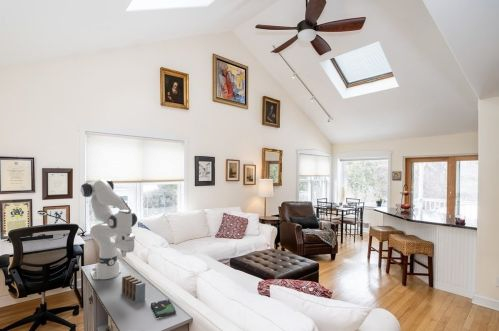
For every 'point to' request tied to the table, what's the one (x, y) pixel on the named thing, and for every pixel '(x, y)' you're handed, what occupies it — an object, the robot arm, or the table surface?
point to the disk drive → (163, 308)
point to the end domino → (140, 292)
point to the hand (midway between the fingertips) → (123, 256)
